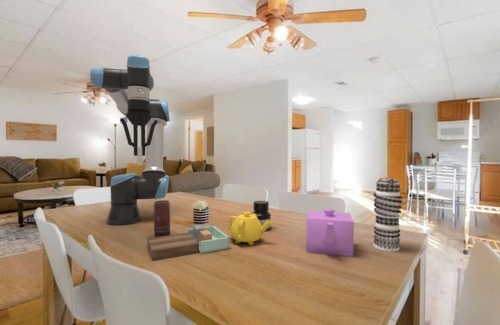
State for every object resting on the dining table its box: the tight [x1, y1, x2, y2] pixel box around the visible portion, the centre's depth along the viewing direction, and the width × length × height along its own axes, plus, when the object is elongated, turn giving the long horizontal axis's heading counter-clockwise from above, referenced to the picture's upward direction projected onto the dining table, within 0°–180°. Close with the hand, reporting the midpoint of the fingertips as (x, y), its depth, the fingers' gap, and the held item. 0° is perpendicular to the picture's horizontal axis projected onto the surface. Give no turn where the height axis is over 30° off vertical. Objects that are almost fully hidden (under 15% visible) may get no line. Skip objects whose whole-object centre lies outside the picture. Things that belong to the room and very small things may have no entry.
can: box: [153, 199, 171, 237], centre depth 108 cm, size 6×6×14 cm
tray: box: [187, 225, 231, 255], centre depth 98 cm, size 17×10×4 cm, turn 28°
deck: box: [147, 232, 200, 261], centre depth 92 cm, size 14×15×3 cm
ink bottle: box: [250, 200, 272, 231], centre depth 118 cm, size 10×9×12 cm
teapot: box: [226, 211, 273, 246], centre depth 101 cm, size 14×14×11 cm
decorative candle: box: [373, 177, 403, 252], centre depth 95 cm, size 9×9×25 cm
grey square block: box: [192, 224, 205, 242], centre depth 100 cm, size 5×5×3 cm
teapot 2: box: [305, 208, 355, 257], centre depth 93 cm, size 15×25×14 cm, turn 165°
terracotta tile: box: [200, 230, 212, 241], centre depth 93 cm, size 5×5×3 cm
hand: (139, 164), depth 96 cm, fingers closed
